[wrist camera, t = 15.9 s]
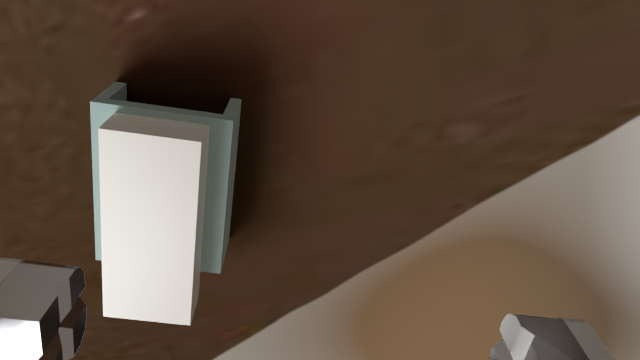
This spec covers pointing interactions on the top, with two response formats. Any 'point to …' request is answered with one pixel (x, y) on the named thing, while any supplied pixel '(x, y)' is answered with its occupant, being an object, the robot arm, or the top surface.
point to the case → (218, 164)
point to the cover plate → (151, 216)
